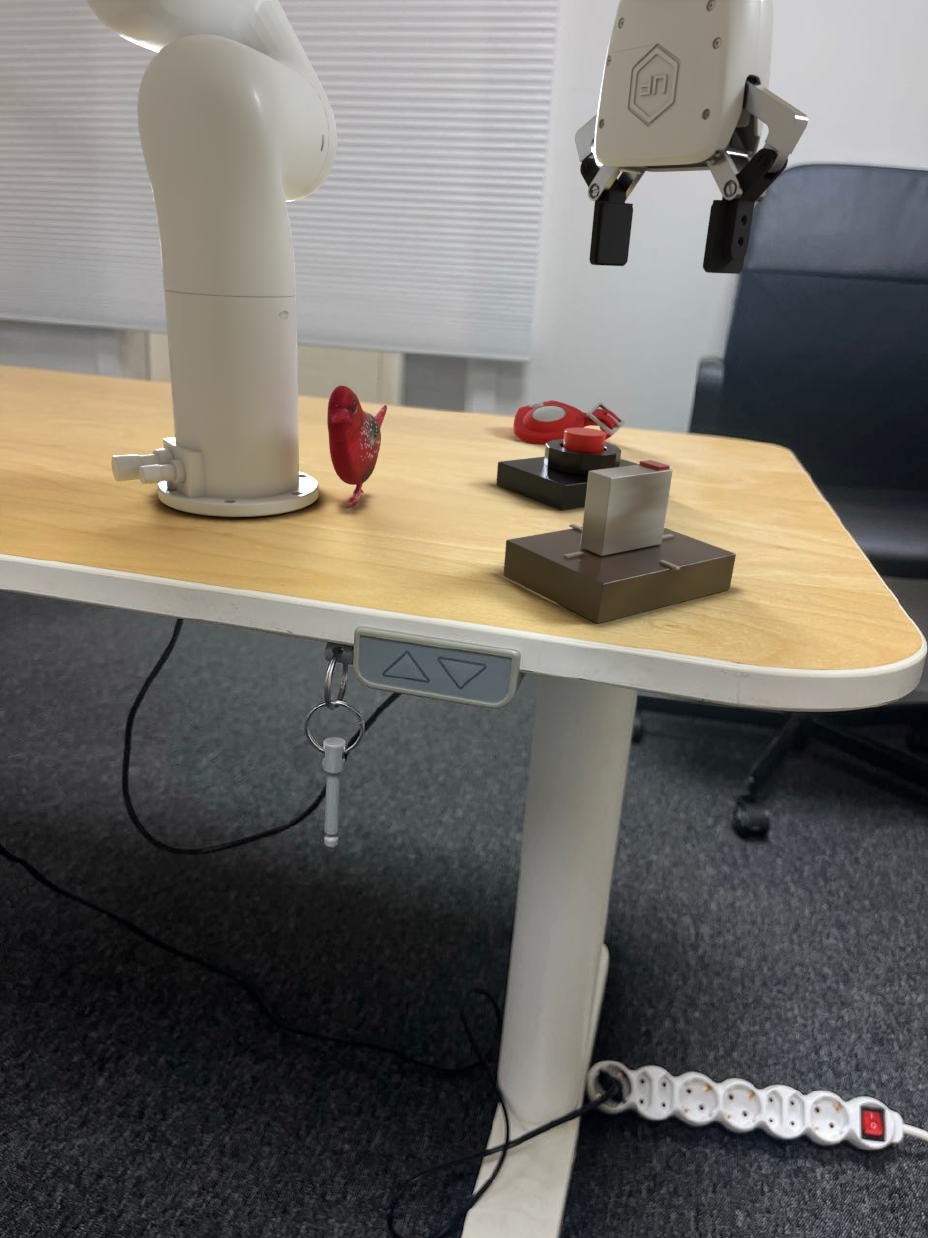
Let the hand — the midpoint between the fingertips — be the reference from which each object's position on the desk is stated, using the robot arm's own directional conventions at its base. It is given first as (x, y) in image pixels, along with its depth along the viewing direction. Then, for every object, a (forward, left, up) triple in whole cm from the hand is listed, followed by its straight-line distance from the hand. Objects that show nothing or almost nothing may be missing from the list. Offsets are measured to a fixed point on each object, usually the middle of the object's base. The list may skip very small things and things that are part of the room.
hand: (661, 268), depth 58 cm
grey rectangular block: (-6, -5, -17) cm, 19 cm away
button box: (+8, +14, -19) cm, 25 cm away
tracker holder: (+22, +32, -19) cm, 43 cm away
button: (+8, +14, -16) cm, 22 cm away
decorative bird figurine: (-11, +20, -19) cm, 30 cm away
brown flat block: (-6, -5, -19) cm, 21 cm away
